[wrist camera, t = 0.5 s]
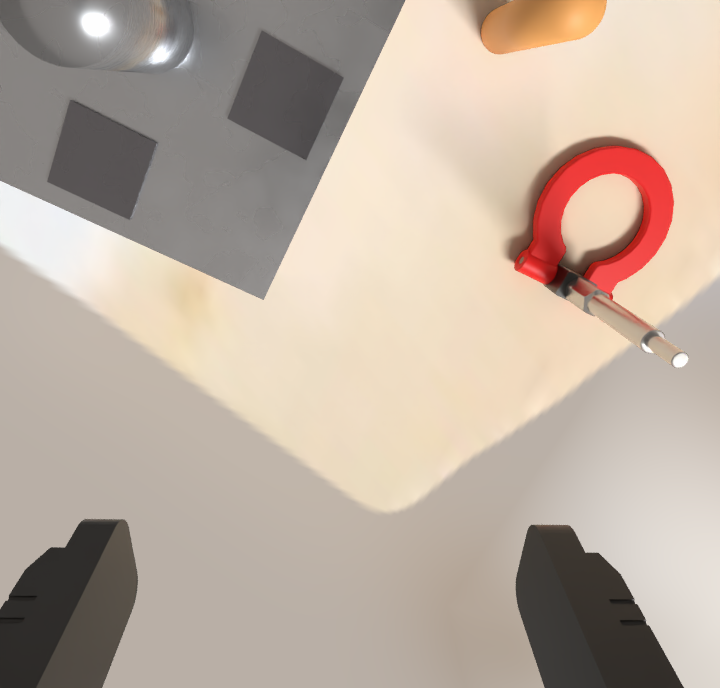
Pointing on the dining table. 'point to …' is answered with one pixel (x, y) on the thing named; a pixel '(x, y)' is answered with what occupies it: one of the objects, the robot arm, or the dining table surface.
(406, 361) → the dining table surface
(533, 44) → the rounded pin
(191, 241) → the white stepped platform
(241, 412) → the dining table surface
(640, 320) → the tow hook
